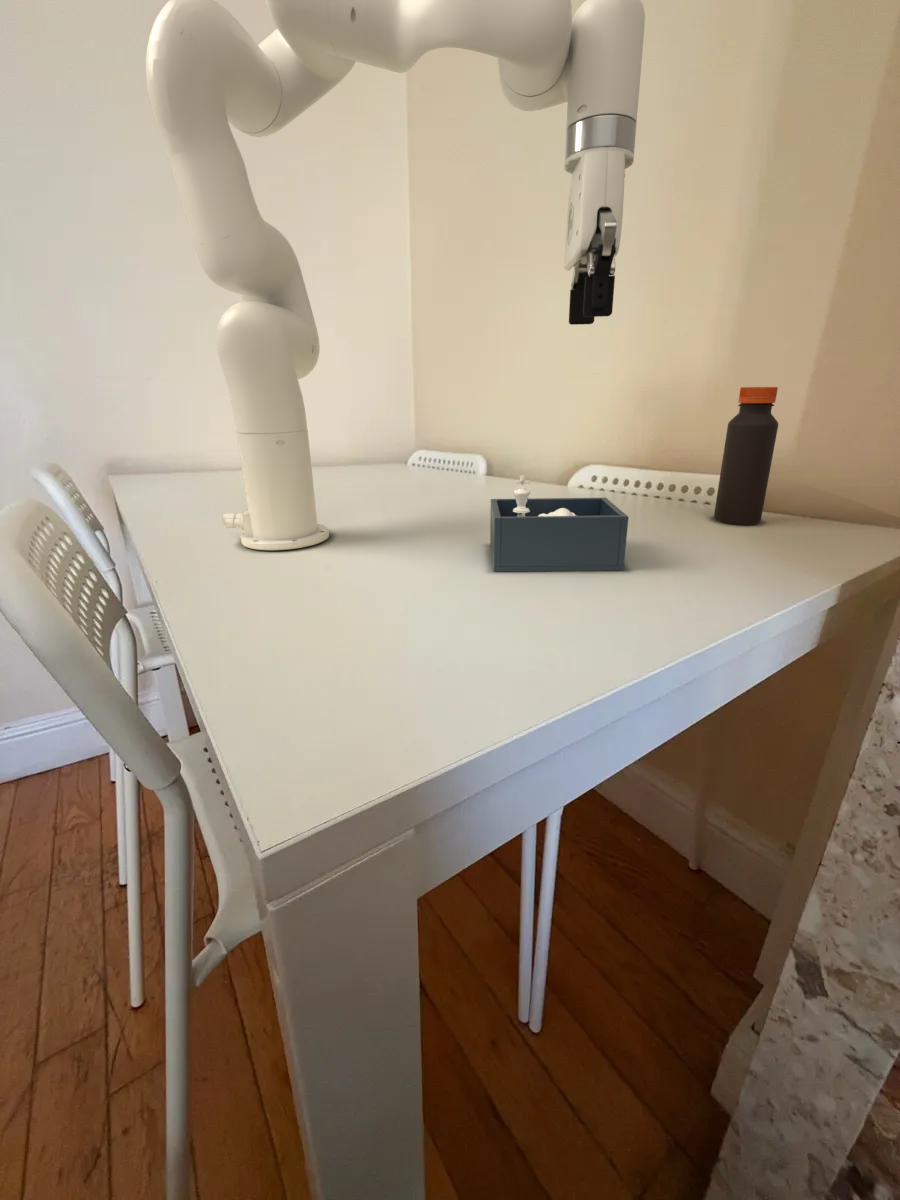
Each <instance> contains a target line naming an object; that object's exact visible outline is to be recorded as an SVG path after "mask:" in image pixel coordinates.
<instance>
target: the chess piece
mask: <svg viewBox="0 0 900 1200" xmlns="http://www.w3.org/2000/svg"><path fill="white" fill-rule="evenodd" d="M519 477H520V478H519V479H517V480H515V481H514V485H519V488H518V489H515V490H514V491H513V495H514V499H516V503H517V505H518V506H517V508H514V509H513V512H515V513H518V514H517V517H523V516H525V513H528V512H530V510H529V508H526V506H525V505H526V503H527V499H529V497H530V495H531V490H529V489H526V488H525V485H530V480H529V479H525V475H524V474H520V475H519Z"/></svg>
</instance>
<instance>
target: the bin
mask: <svg viewBox="0 0 900 1200" xmlns="http://www.w3.org/2000/svg"><path fill="white" fill-rule="evenodd" d="M517 506H518V505H517V503H516V499H515V498H491V499H490V524H489V525H490V527H489V528H490V529H489V530H490V531H489V533H490V534H489V535H490V536H489V538H490V539H489V540H490V542H489V546H490V553H491V562H492V567H493V572H584V571H585V572H593V571H595V572H596V571H597V572H598V571H599V572H601V571H602V572H608V571H609V572H611V571H613V572H615V571H624V569H625V558H626V550H627V549H626V547H627V537H628V528H629V517H630V516H628V514H626V513H625V512H623V511H622V510H621V508H619V507H618V506H616V505H615V504H614V503H613V502H612V501H611V500H610V499H608V497H548V498H547V497H541V498H539V497H538V498H528V499H527V503H526V505H525V506H526V508H529V510H530V512H528V513H525V516H523V517H517V514H518V513H515V512H513V509H514V508H517ZM560 508H566V509H568V510H569V511H570V512H572V513H574V514H575V515H576V516H538V515H540V514H543V513H544V514H548V513H550V512H554V511H556V510H558V509H560Z"/></svg>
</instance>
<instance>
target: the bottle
mask: <svg viewBox="0 0 900 1200" xmlns="http://www.w3.org/2000/svg"><path fill="white" fill-rule="evenodd" d="M778 389H779V388H778V387H777V386H742V387H740V389H739V394H738V401H737V403H739V404H738V405H737V406H738V407H739V410H738V413H737V414H735V416H734V417H733V418H732V419H730V420H729V421H728V424H727V427H726V434H725V440H724V447H723V452H722V453H723V454H722V459H721V460H722V461H721V467H720V474H719V481H718V485H717V486H718V487H717V492H716V499H715V506H714V512H713V513H714V514H713V518H714V520H715V521H717V522H719V523H721V524H722V523H723V524H727V525H735V526H754V525H758V524H760V523H761V520H762V516H763V511H764V505H765V504H764V503H765V499H766V496H767V495H766V494H767V489H768V483H769V478H770V472H771V467H772V461H773V456H774V451H775V445H776V440H777V436H778V435H777V434H778V430H779V422H778V420H777V419H776V418H775V416H774V415H773V414H772V409H773V407H775V404H776V401H777V395H778ZM774 403H775V404H774Z"/></svg>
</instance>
